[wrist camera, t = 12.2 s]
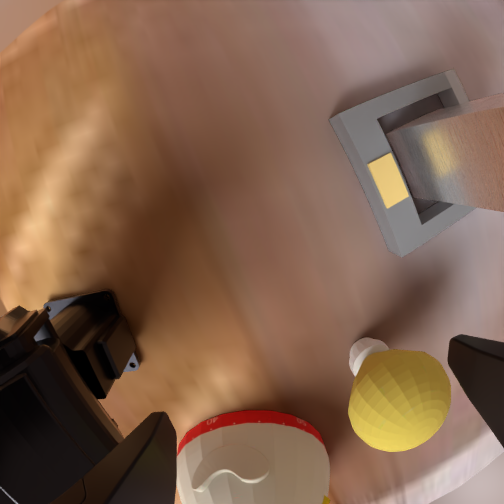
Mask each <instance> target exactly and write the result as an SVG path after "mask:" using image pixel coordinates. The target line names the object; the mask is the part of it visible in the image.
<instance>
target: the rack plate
mask: <svg viewBox="0 0 504 504" xmlns="http://www.w3.org/2000/svg"><path fill="white" fill-rule="evenodd" d="M436 93H437V94H438V96H439V98H440V100H441V102H442V104H443V106H444V108H446V107H450V106H453V105H457V104H461V103H464V102H468V101H469V99H468V97H467V94H466V92H465V90H464V88H463V86H462V84H461V82H460V80H459V78H458V76H457V74H456V72H455V70H454V69H451V70H448V71H445V72H442V73H439V74H437V75H434V76H431V77H428V78H425V79H423V80H420V81H417V82H414V83H412V84H409V85H407V86H404V87H401V88H399V89H396V90H394V91H391V92H389V93H386V94H384V95H381V96H379V97H376V98H374V99H371V100H369V101H367V102H364V103H362V104H359V105H357V106H355V107H352V108H350V109H348V110H346V111H343V112H341V113H339V114H337V115H335V116H334V117H332V118H330V119H329V121H330V123H331V125H332V127H333V129H334V131H335V133H336V135H337V137H338V138H339V140H340V142H341V144H342V146H343V148H344V150H345V152H346V154H347V156H348V158H349V160H350V162H351V164H352V167H353V169H354V171H355V173H356V175H357V177H358V179H359V181H360V184H361V186H362V188H363V190H364V192H365V195H366V197H367V199H368V201H369V204H370V206H371V208H372V211H373V213H374V215H375V218H376V220H377V222H378V225H379V227H380V230H381V232H382V235H383V237H384V240H385V242H386V245H387V247H388V250H389V251H390V252H392V253H394V254H396V255H398V256H400V257H404V256H405V255H407V254H409V253H410V252H412V251H413V250H415V249H416V248H418V247H420V246H421V245H423V244H424V243H426V242H427V241H429V240H430V239H432V238H433V237H435V236H436V235H438V234H439V233H441V232H442V231H444V230H445V229H447V228H448V227H450V226H451V225H453V224H454V223H455V222H457V221H458V220H460V219H461V218H463V217H464V216H466V215H467V214H468V213H470V212H471V211H473V210H474V209H475V208H477V207H472V206H466V205H460V204H454V203H447V202H440V201H439V202H438V203H436V204H434V205H433V206H431V207H430V208H428V209H426V210H425V211H423V212H421V213H420V214H418V213H417V210H416V208H415V205H414V202H413V200H412V197H411V195H410V192H409V189H408V187H407V184H406V182H405V180H404V177H403V175H402V172H401V170H400V168H399V165H398V163H397V161H396V159H395V156H394V154H393V152H392V150H391V147H390V145H389V143H388V141H387V139H386V137H385V135H384V133H383V131H382V129H381V127H380V124H379V122H378V120H377V119H378V118H380V117H382V116H384V115H387V114H389V113H391V112H394V111H396V110H398V109H400V108H403V107H405V106H407V105H410V104H412V103H415V102H417V101H419V100H422V99H424V98H427V97H429V96H431V95H434V94H436Z"/></svg>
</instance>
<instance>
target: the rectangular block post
mask: <svg viewBox="0 0 504 504" xmlns="http://www.w3.org/2000/svg"><path fill="white" fill-rule="evenodd" d="M386 136H387V138H388V140H389V142H390V144H391V146H392V148H393V150H394V153H395V155H396V157H397V159H398V161H399V164H400V166H401V168H402V171H403V173H404V175H405V178H406V180H407V182H408V185H409V187H410V190H411V192H412V195H413V197H414V198H419V199H426V200H433V201H440V202H447V203H454V204H460V205H466V206H472V207H478V208H484V209H490V210H495V211H501V212H504V93H501V94H497V95H492V96H488V97H484V98H480V99H476V100H472V101H468V102H464V103H461V104H457V105H453V106H450V107H446V108H442V109H439V110H435V111H432V112H430V113H428V114H426V115H424V116H422V117H419V118H417V119H415V120H413V121H411V122H409V123H407V124H405V125H403V126H401V127H399V128H396V129H394V130H392V131H390V132H388V133H386Z"/></svg>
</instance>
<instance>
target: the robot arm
mask: <svg viewBox="0 0 504 504" xmlns="http://www.w3.org/2000/svg"><path fill="white" fill-rule="evenodd" d="M106 294H108V295H109V296H110V299H108V298H106ZM48 306H49V307H50V308H51V310H50V309H49V307H48ZM43 308H44V309H42V310H39V311H37V310H34V311H31V312H30V311H27V310H26V309H24V308H23V307H21V306H17V307H15V308H13V309H12V310H10V311H9V312H7V313H6V314H4V315H3V316H2V317H0V504H174V501H175V492H176V482H177V436H176V431H175V429H174V427H173V425H172V423H171V421H170V419H169V417H168V415H167V413H166V412H164V411H162V412H153V413H151V414H150V415H149V416H148V417H147V418H146V419H145V420H144V421H143V422H142V423H141V424H140V425H139V426H137V427H136V428H135V429H134V430H133V431H132V432H131V433H130V434H129V435H128V436H127V437H126V438H125V439H124V437H123V435H122V433H121V432H120V430H119V429H118V425H117V423H116V422H115V421H114V419H111V418H110V416H109V415H108V414H107V412H106V411H105V409H104V408H103V407H102V405H101V404H100V402H99V401H98V400H97V399H105V398H106V396H107V394H108V393H109V391H110V389H111V387H112V385H113V383H114V381H115V379H120V377H121V375H122V373H123V372H128V371H136V370H138V368H139V366H140V361H139V359H138V356H137V354H136V351H135V349H136V345H135V343H134V340H133V337H132V335H131V332H130V329H129V327H128V324H127V321H126V319H125V317H124V316H122V314H121V311H120V308H119V305H118V303H117V300H116V297H115V294H114V292H113V291H112V290H110V289H104V290H99V291H95V292H90V293H85V294H81V295H76V296H71V297H66V298H62V299H57V300H52V301H48V302H46V303H45V304H44V307H43ZM131 362H133V363H135V365H132V364H131ZM448 364H449V367H450V368H451V370H452V372H453V373H454V375H455V377H456V378H457V380H458V382H459V383H460V385H461V387H462V388H463V390H464V392H465V394H466V395H467V397H468V398H469V400H470V401H471V403H472V404H473V405H474V407H475V408H476V409H477V411H478V412H479V413H480V415H481V416H482V418H483V419H484V420H485V422H486V423H487V425H488V426H489V427H490V429H491V430H492V432H493V433H494V435H495V436H496V437H497V439H498V440H499V442H500V443H501V445H502V446H503V448H504V342H499V341H494V340H488V339H483V338H478V337H473V336H468V335H463V334H460V335H457V336H455V337H453V338H451V340H450V342H449V351H448Z"/></svg>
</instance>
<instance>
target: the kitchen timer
mask: <svg viewBox="0 0 504 504" xmlns="http://www.w3.org/2000/svg"><path fill="white" fill-rule="evenodd" d="M329 479H330V463H329V457H328V454H327V451H326V448H325V445H324V443H323V440H322V438H321V435H320V433H319V432H318V431H317V430H316V429H315V428H314V427H313V426H312V425H311V424H310V423H308V422H306V421H304V420H302V419H300V418H298V417H295V416H293V415H290V414H285V413H280V412H275V411H270V410H244V411H238V412H232V413H226V414H221V415H219V416H216V417H213V418H211V419H208V420H205V421H203V422H201V423H199V424H198V425H197V426H195V427H194V428H193V429H191V430H190V431H188V432H187V433H186V435H185V436H184V438H183V439H182V441H181V442H180V444H179V447H178V453H177V482H176V483H177V488H178V492H179V496H180V499H181V502H182V504H329V503H330V499H329V498H328V490H329Z"/></svg>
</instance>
